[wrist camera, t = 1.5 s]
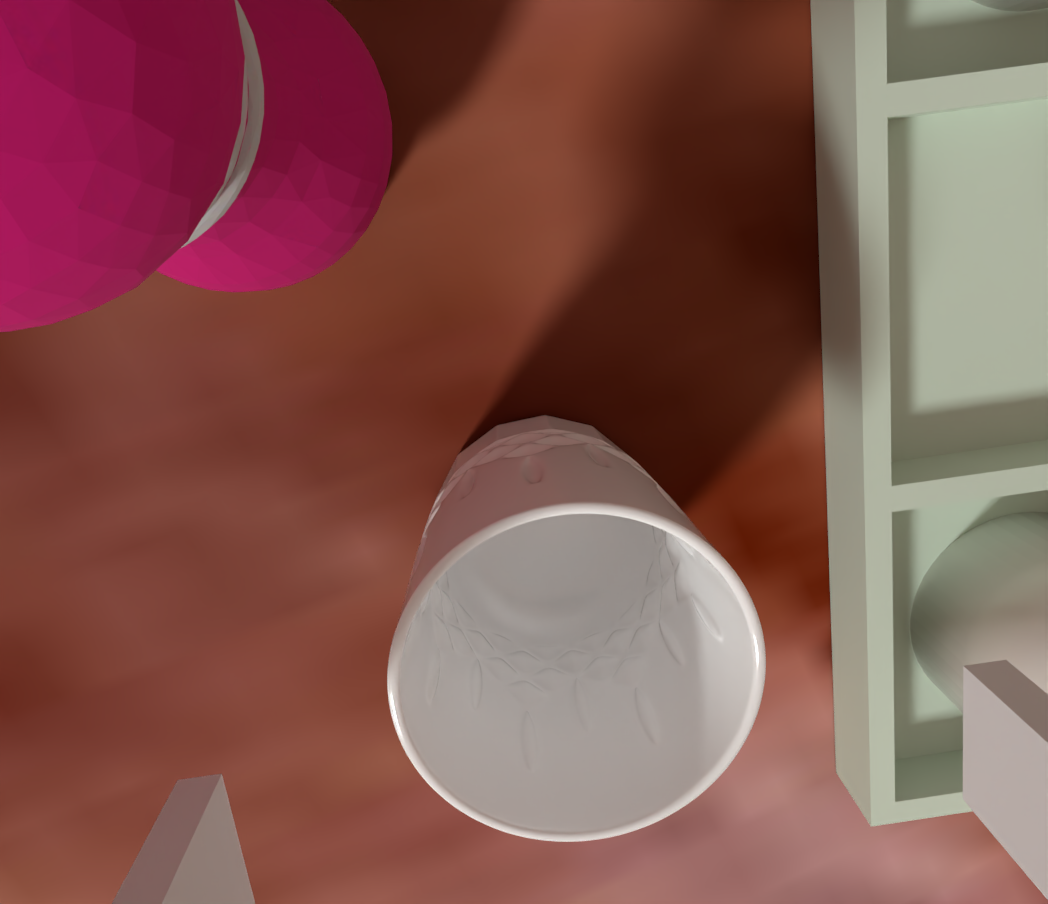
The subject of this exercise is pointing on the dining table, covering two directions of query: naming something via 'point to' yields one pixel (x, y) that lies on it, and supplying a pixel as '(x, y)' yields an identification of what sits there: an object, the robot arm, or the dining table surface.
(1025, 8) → the white round cylinder
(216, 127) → the pepper mill
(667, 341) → the dining table surface
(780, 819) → the dining table surface
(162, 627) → the dining table surface
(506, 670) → the white cup
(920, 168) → the caddy
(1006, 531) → the white capsule
